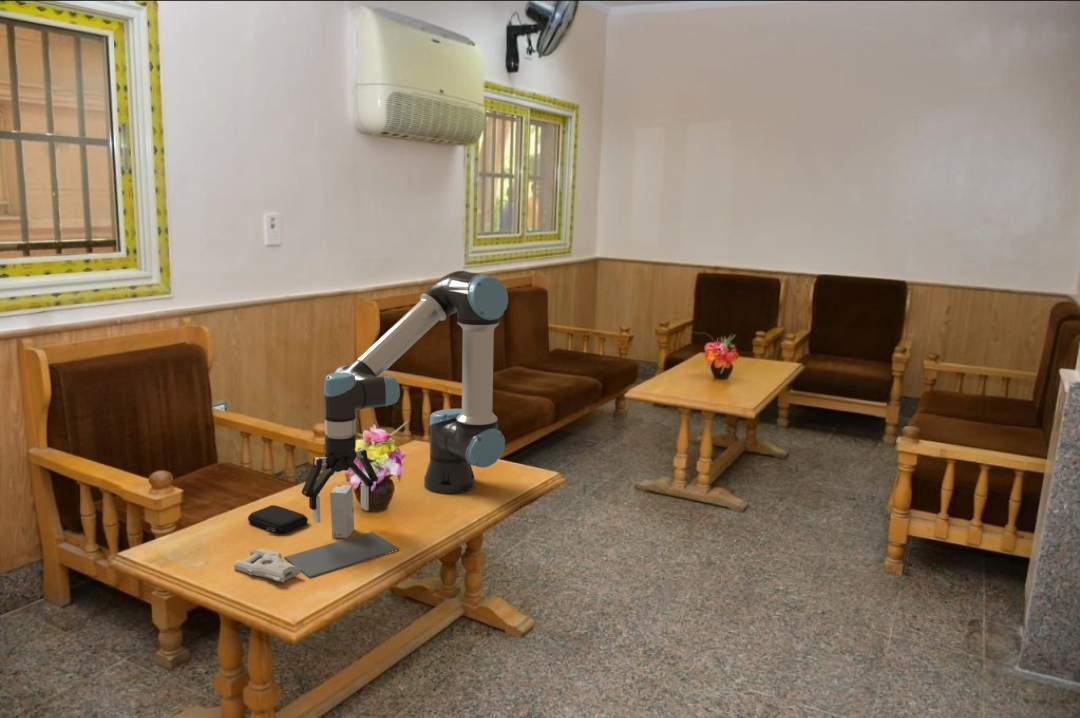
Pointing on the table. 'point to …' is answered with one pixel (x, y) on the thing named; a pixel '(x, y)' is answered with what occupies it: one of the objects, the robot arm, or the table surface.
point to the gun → (267, 565)
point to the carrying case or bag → (277, 519)
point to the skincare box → (342, 511)
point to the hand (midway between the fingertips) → (341, 514)
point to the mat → (340, 554)
